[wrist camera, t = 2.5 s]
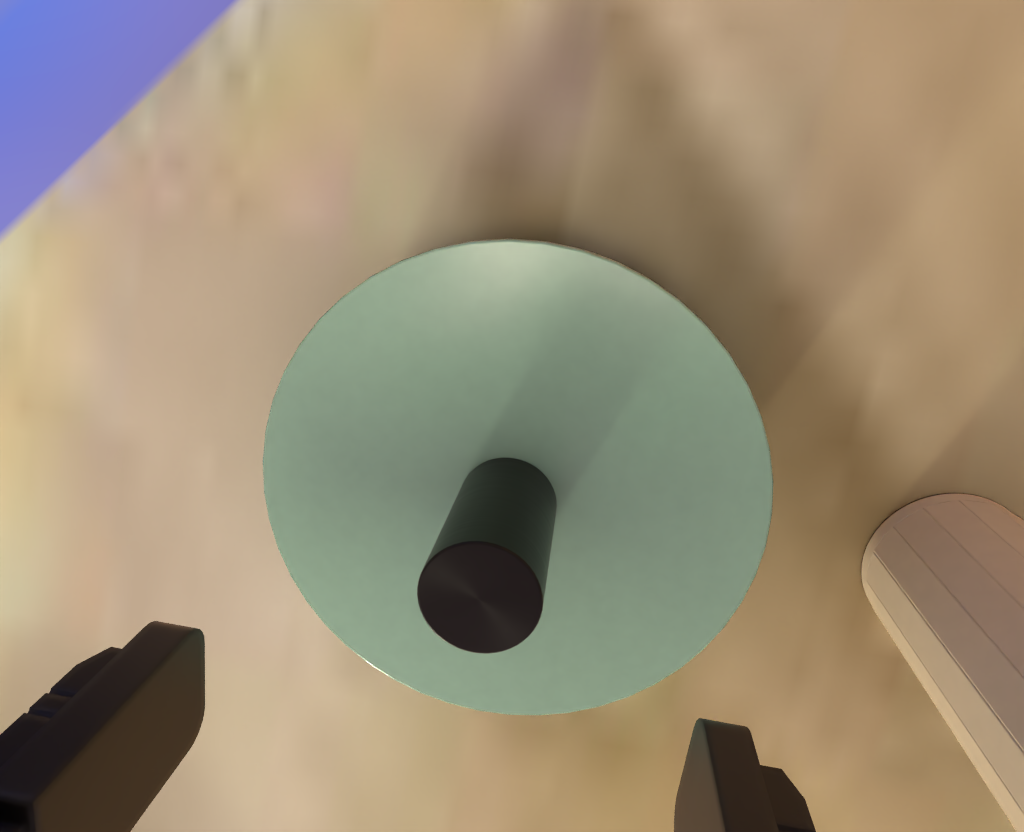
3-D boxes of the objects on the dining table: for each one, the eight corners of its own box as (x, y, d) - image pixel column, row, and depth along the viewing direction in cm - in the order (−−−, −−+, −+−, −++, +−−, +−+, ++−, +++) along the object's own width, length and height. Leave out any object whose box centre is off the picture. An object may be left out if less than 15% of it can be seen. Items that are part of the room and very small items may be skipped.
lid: (822, 278, 18) (925, 320, 12) (705, 728, 22) (741, 913, 16) (286, 202, 19) (152, 208, 13) (272, 647, 23) (167, 795, 17)
